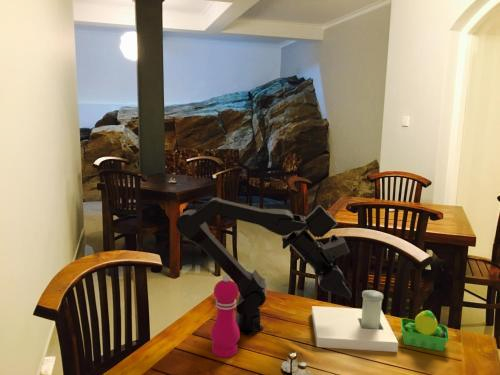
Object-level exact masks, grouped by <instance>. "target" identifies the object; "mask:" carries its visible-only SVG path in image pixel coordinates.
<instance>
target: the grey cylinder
mask: <svg viewBox="0 0 500 375" xmlns="http://www.w3.org/2000/svg"><path fill="white" fill-rule="evenodd" d="M361 297H362V305H361V306H362V307H361V309H362V319H361V328H362V329H377V330H379V327H380V315H381V310H382V302H383V299H384V294H383V293H382V292H380V291H377V290H373V289H372V290H371V289H369V290H368V289H367V290H366V289H365V290H363V291H362V292H361Z"/></svg>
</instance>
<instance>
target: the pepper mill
mask: <svg viewBox="0 0 500 375" xmlns="http://www.w3.org/2000/svg"><path fill="white" fill-rule="evenodd" d="M213 295H214V297H215V307H216V308H217V313H216V314H217V316H216V319H215V321H214V323H213V325H212V327H211V330H210V340H211V342H212V346H211V347H212V350H211V351H212V353H213V355H215V356H216V357H218V358H223V359H224V358H225V359H226V358H227V359H228V358H232V357H234V356H235V355H237V353H238V350H239V349H238V341H239V340H240V338H241V337H240V336H241V335H240V334H241V332H239V327H238V325H237V323H236V317H235V308H236V305H237V300H236V298H238V297H239V290H238V287H237V285H236V283H235V282H234V281H233V280H232V279H231V278H230V277H229V275H227V274H224V275H223V277H222V280H220V281H218V282H217V283H216V284H215V286H214V288H213Z"/></svg>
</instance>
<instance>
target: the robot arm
mask: <svg viewBox="0 0 500 375" xmlns="http://www.w3.org/2000/svg"><path fill="white" fill-rule="evenodd" d="M215 216H221V217H226V218H229V219H233V220H237V221H240V222H241V221H242V222H245V223H250V224H254V225H258V226H260V227H262V228H264V229H265V230H267V231H269V232H272V233H274V234H276V235H279V236H281V241H282V243H281V244H282V249H286V248H287V247H288V246H291V247H292V249H294V251H296V253H297V254H298V255H299V256H300V257H301V258H302V259H303V262H304V263H305V265H307V264H308V265H309V266H310V267H311V268H312V269H313V273H314V274H315V275H316V276H318V277H317V281H318V282H317V283H318V286H319V287H320V289H322V291H324V292H330V293H333V294H335V295H339V296H341V297H344V298H346V299H351V298H353V295H352V293H351V291H350V290H349V288H348V287H347V286H346V284H347V280H346V278H345V277H344V273H343V271H342V270H341V269H340V268H339V267H338V257H342V256H344V255H345V256H346V255H349V253H350V249H349V247H348V244H347V243H346V240H345V238H344V237H341V236H340V237H339V236H338V235H336V234H335V233H334V234H332V235H330V236H329V241H327V243H325V244H323V243H322V242H321V241H317V240H316V239H315V238H318V239H319V238H323V237H324V236H326V235H327V234H328V233H329V232H330V231H331V230H332V229H333V228H335V227H336V226H337V225H338V222H337V221H336V219H335V218H334V217H333V216H332V214H331V213H330V212H329V211H327V210H326V209H324V208H323V207H322V206H321V205H320V204H318V205H317V206H316V207H315V208H314V209H313V210H312V212H310V213H309V214H308V215H307V216H305V215H298V214H294V213H293V212H292V211H291V210H288V209H284V208H283V209H281V208H268V209H267V208H259V207H255V206H252V205H248V204H247V205H246V204H244V203H238V202H234V201H229V200H227V199H226V200H225V199H222V198H220V197H213V198H211V199H210V200H209V201H208V202H206V203H204V204H202V205H200V206H199V207H197V208H196V209H187V210H185V211H184V212H183V213H182V214H181V215H180V216H179V217H178V218H177V220H176V224H175V225H176V227H175V229H176V230H177V233H179V234H180V235H181V236H183V237H184V238H186V239H187V240H189V241H190V242H192V243H194V244H196V245H199V247H201V249H202V250H203V251H204V253H206V254H207V255H208V256H209V257H210V258H211V259H212V260H213V262H215V263H216V265H218V267H220V269H221V270H222V271H223V272H224V273H225V275H229V277H230V280H231V281H233V282H235V283H236V285H237V287H238V296H237V300H236V306H235V308H236V310H235V316H236V317H235V320H236V323H237V325H238V327H239V332H240V334H243V335H244V336H250V335H252V334H254V333H257V332H260V331H262V330H264V326H263V325H261V315H260V314H261V312H260V311H261V309H260V308H259V307H261V306H263V305H264V304H265V302H266V299H267V291H268V290H267V289H268V287H267V283H266V279H265V278H264V277H262V276H261V275H260V274H259V273H258V270H256V269H254V270H253V272H251V271H248V270H246V269H245V268H244V267H243V265H242V264H240V262H239V261H238V260H237V259H236V258H235V257H234V256H233V254H232V253H230V251H228V249H226V248H225V246H224V245H223V244H222V243H221V242H220V241H219V240H218V239H217V238H216V236H215V235H214V234H212V232H211V230H210V229H209V226H208V223H207V222H208V221H209V220H210V219H212V218H213V217H215ZM307 230H308V231H309V232H308V231H307Z"/></svg>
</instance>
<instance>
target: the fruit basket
mask: <svg viewBox="0 0 500 375" xmlns="http://www.w3.org/2000/svg"><path fill="white" fill-rule="evenodd" d="M400 320H401V321H400V322H401V323H400V331H401V334H402V340H403V341H402V342H403V344H404V345H408V346H414V347H417V348H418V347H419V348H424V349H428V350H434V351H438V352H443V351H444V349H445V347H446V345H447V343H448V342H449V340H450V336H449V330H448V329H449V328H448V326H447V325H444V324H439V322H438V321H437V318H436V316H435V314H434V313H433V312H432V311H430V310H428V309H427V310H422V311H421V312H420V313H418V314H417V315H416V316H415V318H414V319H410V318H405V317H403V318H401V319H400Z"/></svg>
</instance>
